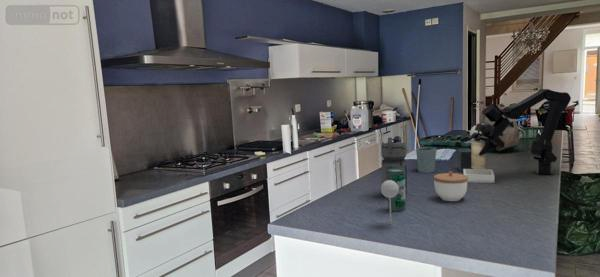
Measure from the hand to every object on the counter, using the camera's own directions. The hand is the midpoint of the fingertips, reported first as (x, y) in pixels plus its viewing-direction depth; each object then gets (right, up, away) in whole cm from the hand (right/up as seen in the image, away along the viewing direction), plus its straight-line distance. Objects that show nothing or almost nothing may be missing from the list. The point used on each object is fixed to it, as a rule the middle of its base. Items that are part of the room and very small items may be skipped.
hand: (475, 153), depth 192 cm
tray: (+2, -12, +2) cm, 12 cm away
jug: (+45, -1, +69) cm, 83 cm away
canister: (+2, -6, +1) cm, 7 cm away
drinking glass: (-15, -10, +25) cm, 31 cm away
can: (-45, -19, -36) cm, 61 cm away
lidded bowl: (-21, -17, -27) cm, 38 cm away
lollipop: (-51, -22, -52) cm, 76 cm away
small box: (+4, -9, +23) cm, 25 cm away
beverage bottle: (-41, -17, -16) cm, 47 cm away
